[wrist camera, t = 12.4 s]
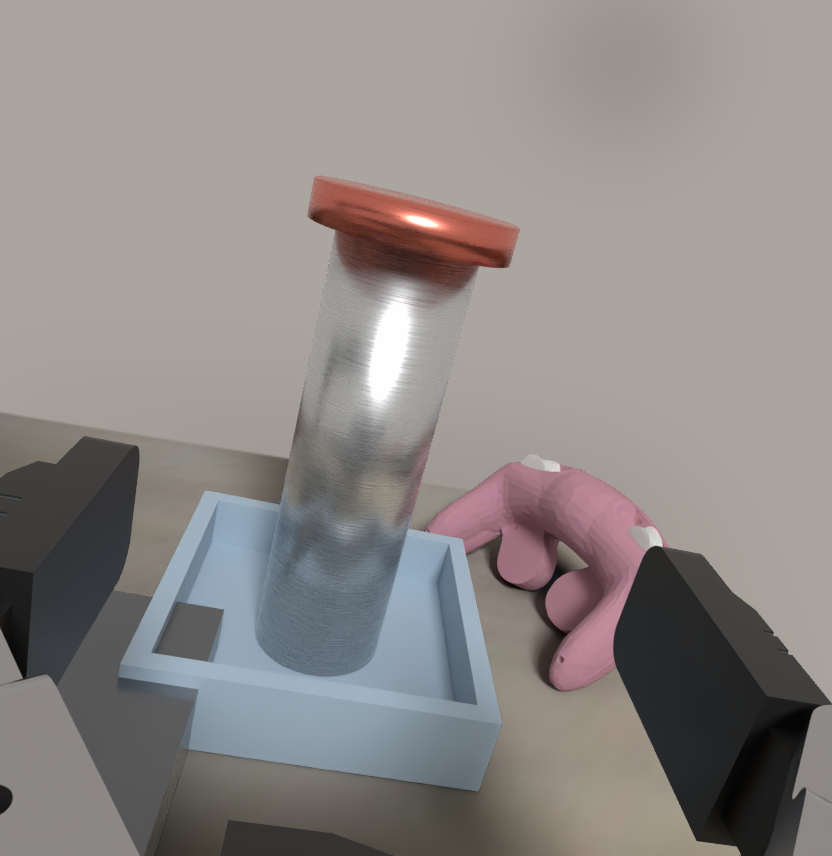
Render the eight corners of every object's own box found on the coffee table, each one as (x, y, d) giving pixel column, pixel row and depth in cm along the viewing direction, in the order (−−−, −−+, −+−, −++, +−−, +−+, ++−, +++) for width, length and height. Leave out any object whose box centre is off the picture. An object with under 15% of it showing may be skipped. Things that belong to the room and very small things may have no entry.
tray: (110, 737, 20) (119, 663, 19) (196, 545, 29) (205, 490, 28) (478, 791, 21) (502, 724, 20) (447, 590, 30) (462, 539, 29)
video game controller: (618, 719, 28) (730, 566, 28) (556, 698, 25) (682, 526, 24) (465, 571, 35) (552, 449, 35) (403, 542, 32) (498, 408, 32)
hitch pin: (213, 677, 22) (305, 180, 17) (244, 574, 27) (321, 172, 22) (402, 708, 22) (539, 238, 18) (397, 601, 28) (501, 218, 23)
